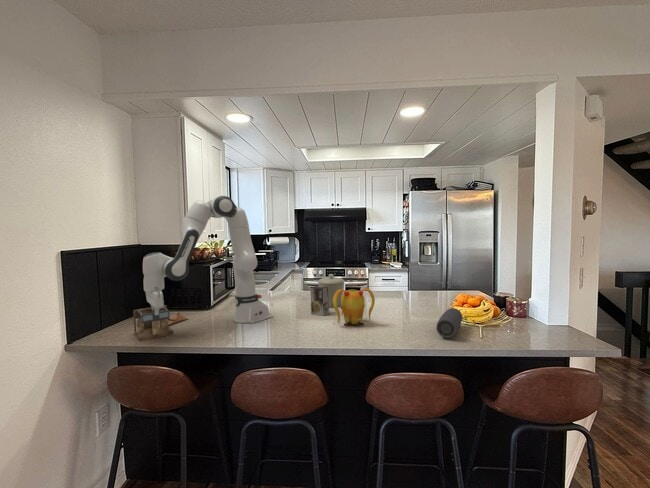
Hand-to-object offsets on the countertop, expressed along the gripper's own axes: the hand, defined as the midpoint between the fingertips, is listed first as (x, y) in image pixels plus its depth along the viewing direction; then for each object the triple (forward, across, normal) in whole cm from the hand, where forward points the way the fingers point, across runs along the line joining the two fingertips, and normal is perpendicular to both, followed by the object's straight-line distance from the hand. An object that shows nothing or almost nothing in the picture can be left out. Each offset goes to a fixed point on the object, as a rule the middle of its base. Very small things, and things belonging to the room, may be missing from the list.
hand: (155, 314), depth 152 cm
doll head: (+12, -51, -84) cm, 99 cm away
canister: (+12, -14, -101) cm, 103 cm away
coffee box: (+12, -24, -83) cm, 88 cm away
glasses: (+3, +4, 0) cm, 5 cm away
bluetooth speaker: (+12, -93, -108) cm, 143 cm away
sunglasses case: (+12, +19, -12) cm, 25 cm away
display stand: (+11, +6, 0) cm, 12 cm away
